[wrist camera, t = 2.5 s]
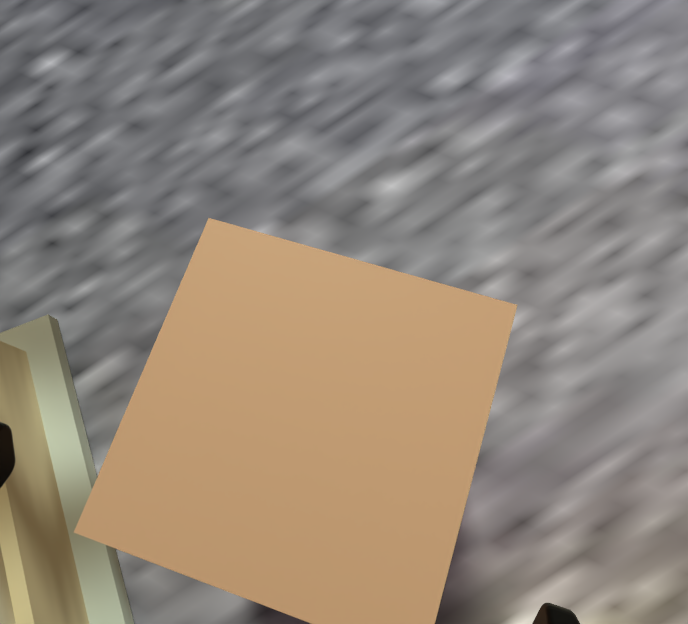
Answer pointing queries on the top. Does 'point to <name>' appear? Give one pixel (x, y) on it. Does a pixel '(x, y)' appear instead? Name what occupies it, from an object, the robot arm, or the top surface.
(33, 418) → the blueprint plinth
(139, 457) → the column block
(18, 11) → the top surface
